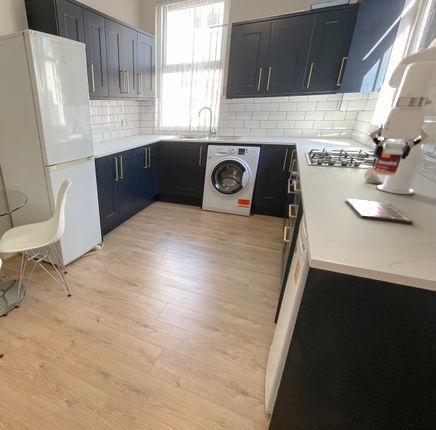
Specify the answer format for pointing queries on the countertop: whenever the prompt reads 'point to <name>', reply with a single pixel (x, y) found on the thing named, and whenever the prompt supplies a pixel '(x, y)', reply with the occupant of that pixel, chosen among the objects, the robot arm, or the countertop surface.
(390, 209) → the board
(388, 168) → the pill bottle
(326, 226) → the countertop surface
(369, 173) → the stone
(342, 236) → the countertop surface
